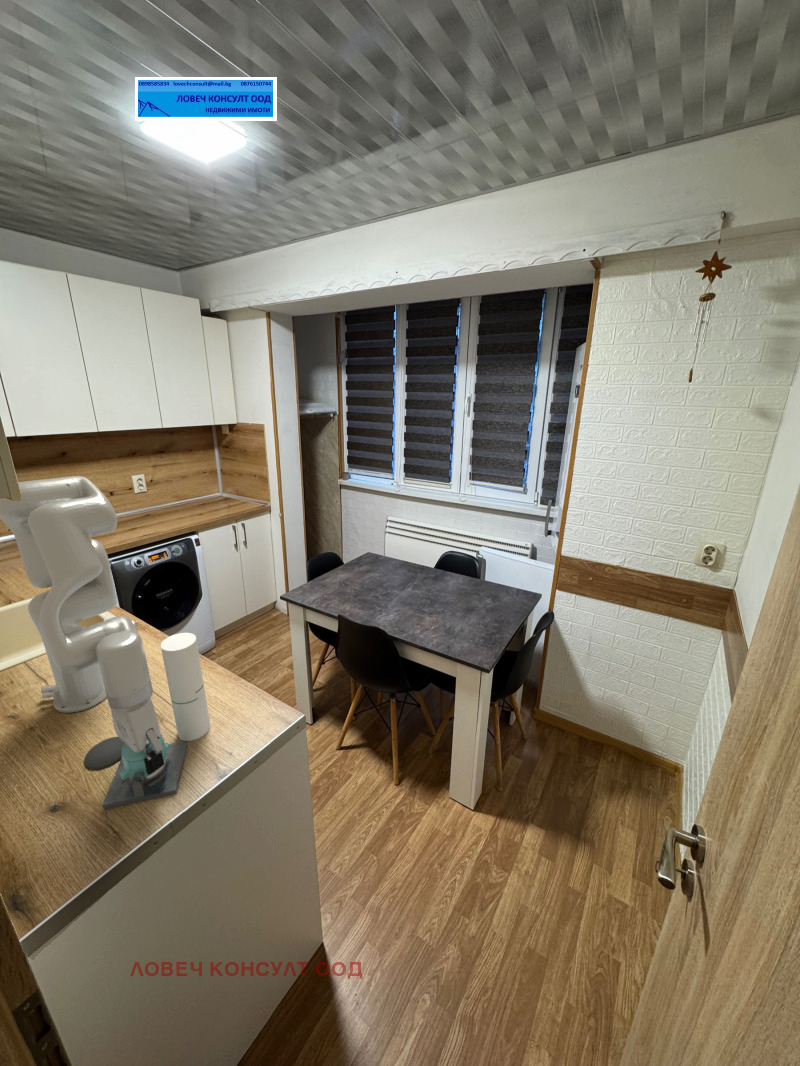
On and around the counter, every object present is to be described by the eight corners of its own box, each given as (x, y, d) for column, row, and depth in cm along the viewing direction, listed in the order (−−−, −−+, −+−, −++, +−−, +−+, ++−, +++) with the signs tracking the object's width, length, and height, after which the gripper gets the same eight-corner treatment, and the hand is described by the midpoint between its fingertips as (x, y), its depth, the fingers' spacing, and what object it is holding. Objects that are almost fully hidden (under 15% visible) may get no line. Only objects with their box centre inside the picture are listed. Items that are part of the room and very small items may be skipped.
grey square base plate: (176, 794, 86) (170, 768, 83) (103, 809, 82) (95, 783, 80) (188, 744, 97) (183, 720, 95) (124, 756, 94) (118, 732, 92)
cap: (131, 788, 83) (126, 769, 81) (113, 770, 87) (108, 751, 85) (178, 755, 91) (174, 737, 89) (160, 740, 94) (156, 722, 93)
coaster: (78, 773, 90) (77, 771, 89) (93, 742, 97) (93, 740, 97) (122, 764, 92) (122, 762, 92) (134, 735, 100) (133, 733, 99)
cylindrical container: (216, 722, 104) (203, 636, 96) (194, 744, 97) (178, 653, 89) (193, 715, 106) (179, 630, 98) (171, 736, 100) (152, 646, 91)
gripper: (89, 685, 84) (107, 752, 90) (131, 722, 75) (148, 794, 81) (128, 666, 90) (143, 730, 96) (172, 698, 81) (186, 767, 87)
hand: (145, 759), depth 88 cm, fingers closed on cap, 7 cm apart
